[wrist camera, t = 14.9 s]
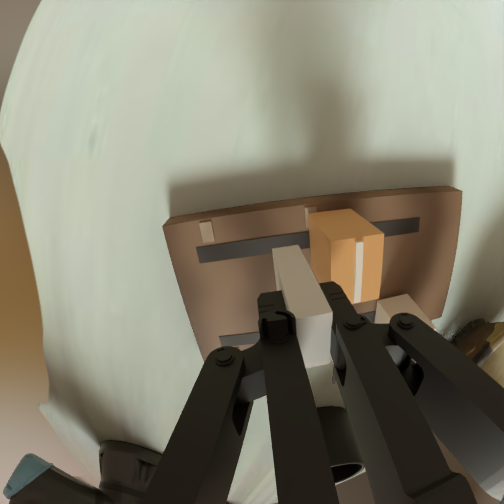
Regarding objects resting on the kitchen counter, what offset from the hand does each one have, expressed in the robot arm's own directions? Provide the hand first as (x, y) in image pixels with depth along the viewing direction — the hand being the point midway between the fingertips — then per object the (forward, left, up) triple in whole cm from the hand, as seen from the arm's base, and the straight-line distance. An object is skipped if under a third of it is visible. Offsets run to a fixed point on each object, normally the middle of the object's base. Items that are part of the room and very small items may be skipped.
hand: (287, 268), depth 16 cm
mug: (+2, -27, -6) cm, 28 cm away
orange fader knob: (+4, 0, -3) cm, 5 cm away
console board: (+4, -4, -5) cm, 8 cm away
